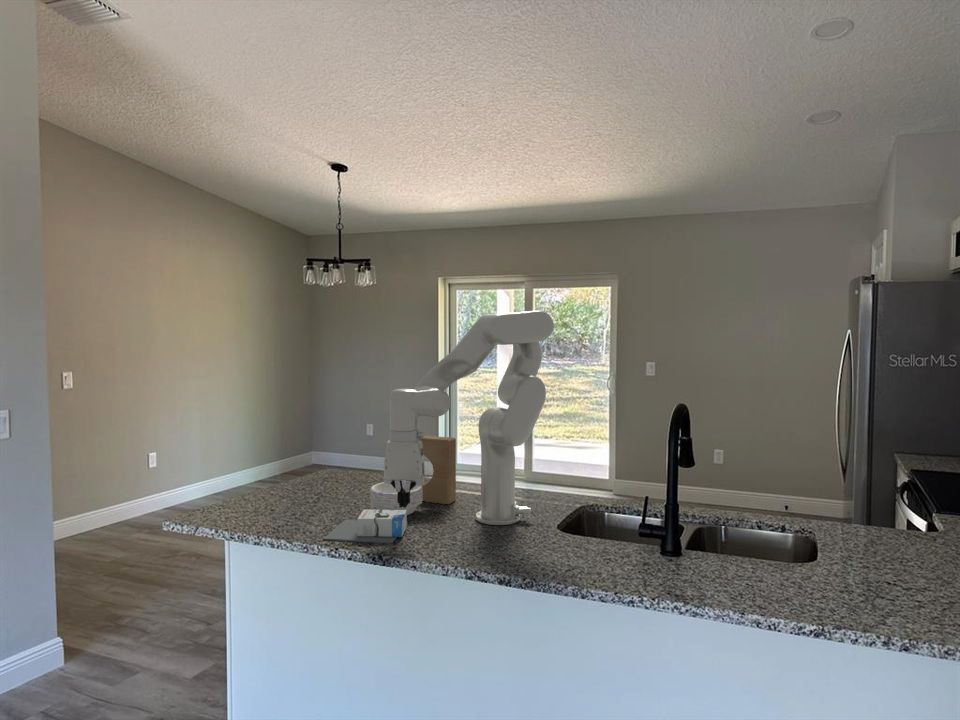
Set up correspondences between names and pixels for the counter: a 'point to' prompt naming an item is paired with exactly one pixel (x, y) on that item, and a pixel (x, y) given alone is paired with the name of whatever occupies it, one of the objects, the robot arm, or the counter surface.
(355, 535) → the mat
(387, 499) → the paper bowls
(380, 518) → the ink box
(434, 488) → the decorative block
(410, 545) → the counter surface
